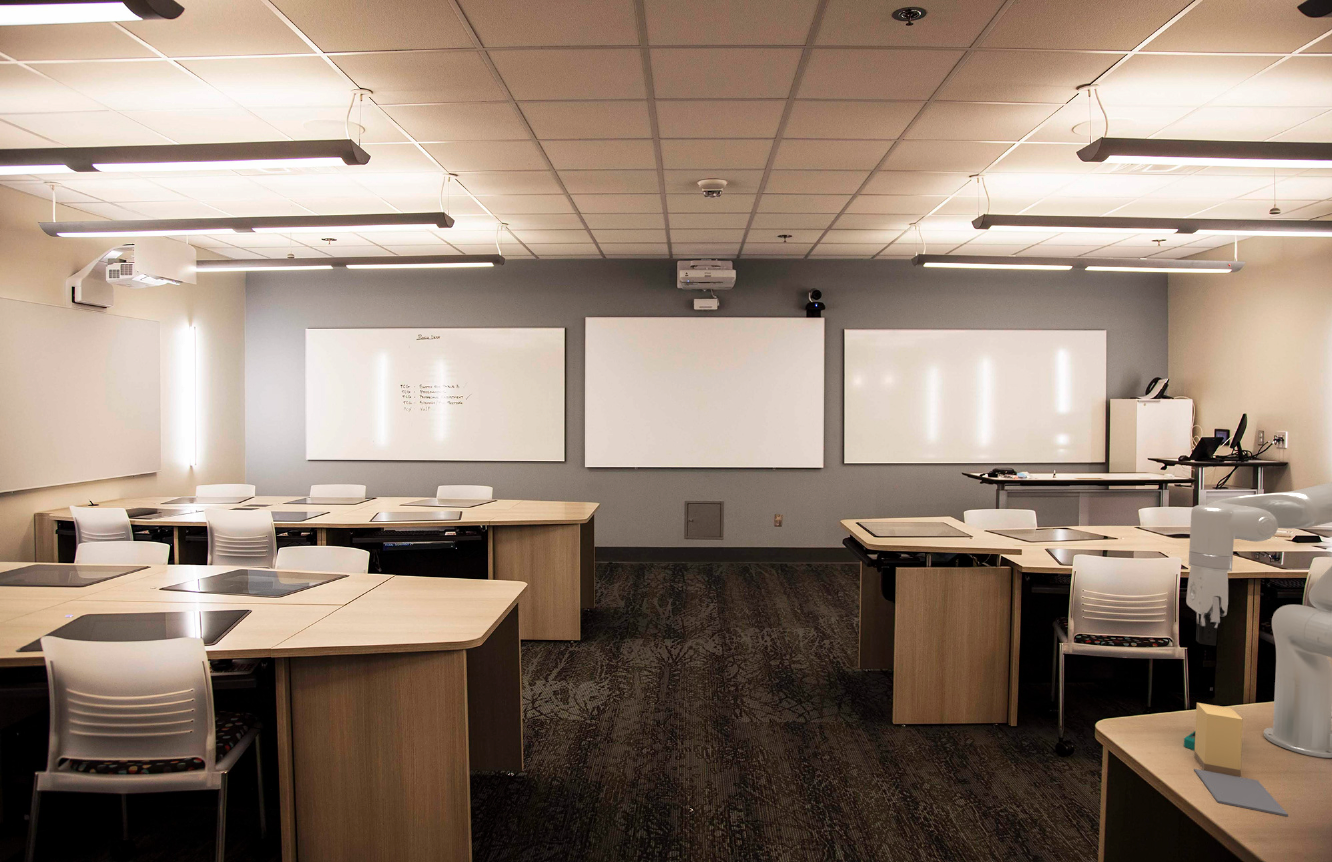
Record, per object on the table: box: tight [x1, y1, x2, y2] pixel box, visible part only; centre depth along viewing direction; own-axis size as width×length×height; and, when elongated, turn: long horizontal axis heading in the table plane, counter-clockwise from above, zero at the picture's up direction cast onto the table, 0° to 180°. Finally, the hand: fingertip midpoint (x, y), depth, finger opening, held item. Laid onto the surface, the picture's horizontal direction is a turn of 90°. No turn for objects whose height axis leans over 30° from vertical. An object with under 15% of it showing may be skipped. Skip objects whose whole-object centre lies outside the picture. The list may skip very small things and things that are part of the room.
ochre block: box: [1194, 702, 1244, 777], centre depth 141 cm, size 6×6×12 cm
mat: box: [1193, 768, 1289, 818], centre depth 132 cm, size 10×13×1 cm
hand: (1205, 643), depth 149 cm, fingers closed
